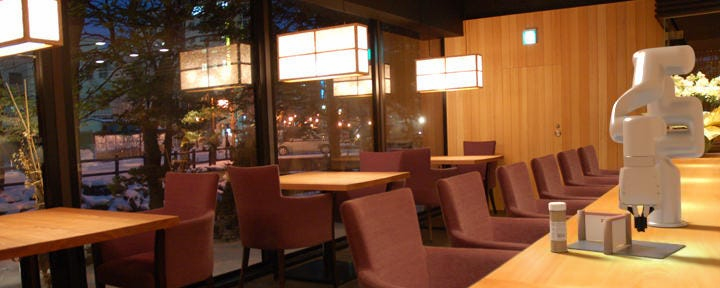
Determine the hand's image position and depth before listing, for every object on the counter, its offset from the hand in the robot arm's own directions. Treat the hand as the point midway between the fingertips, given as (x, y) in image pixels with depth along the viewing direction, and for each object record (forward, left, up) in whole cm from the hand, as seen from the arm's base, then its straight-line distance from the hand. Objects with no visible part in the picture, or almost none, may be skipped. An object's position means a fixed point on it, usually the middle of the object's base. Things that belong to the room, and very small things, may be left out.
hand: (640, 231), depth 162 cm
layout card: (-4, -6, -6) cm, 9 cm away
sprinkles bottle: (+11, -18, -6) cm, 22 cm away
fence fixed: (0, -13, -6) cm, 14 cm away
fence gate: (0, -7, -5) cm, 9 cm away
